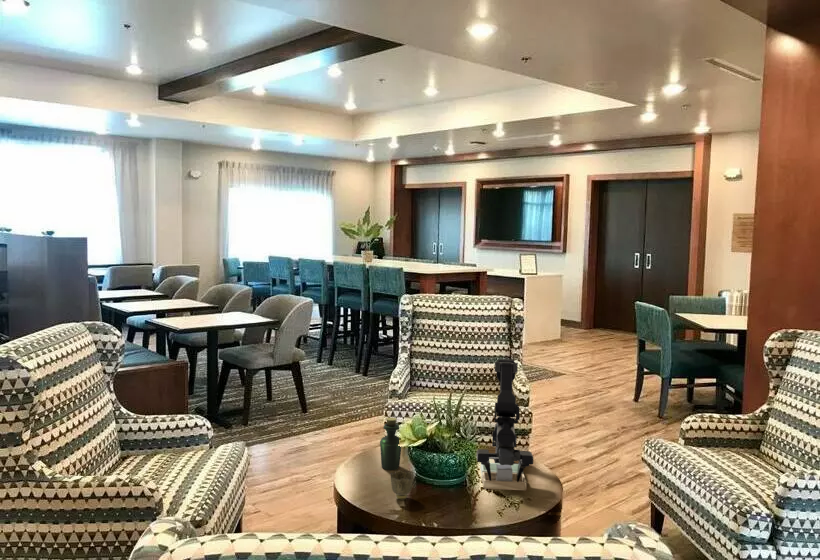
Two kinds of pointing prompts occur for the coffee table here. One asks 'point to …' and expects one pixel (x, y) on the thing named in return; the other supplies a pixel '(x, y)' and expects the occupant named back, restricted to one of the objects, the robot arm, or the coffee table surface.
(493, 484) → the bin
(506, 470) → the stone block
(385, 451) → the potion bottle
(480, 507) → the coffee table surface
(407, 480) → the cup
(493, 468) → the bin
